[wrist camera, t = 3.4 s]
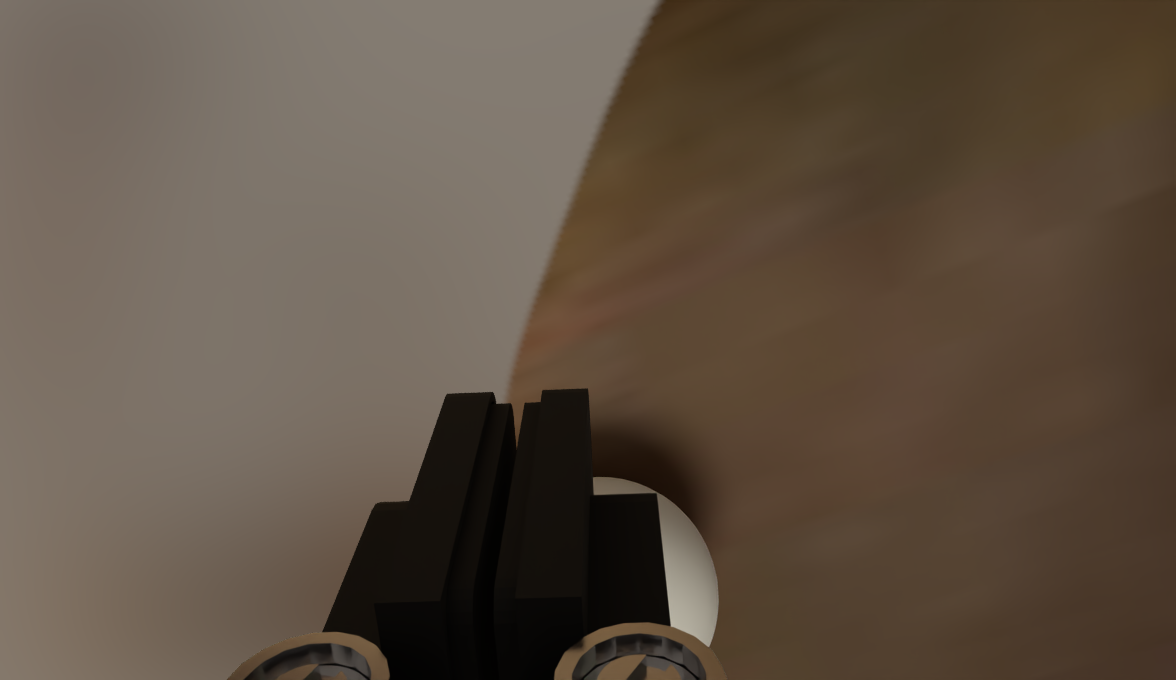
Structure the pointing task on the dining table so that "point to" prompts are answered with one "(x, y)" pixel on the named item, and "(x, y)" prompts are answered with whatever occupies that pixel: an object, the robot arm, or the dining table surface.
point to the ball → (679, 563)
